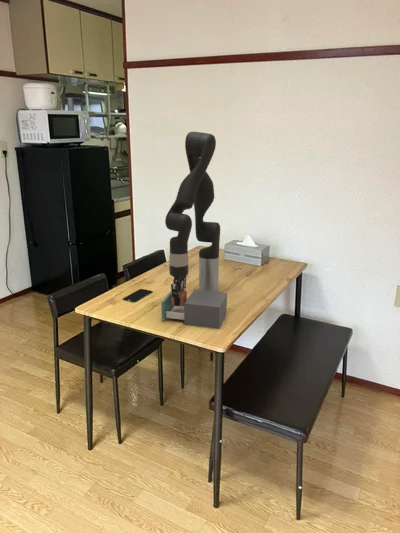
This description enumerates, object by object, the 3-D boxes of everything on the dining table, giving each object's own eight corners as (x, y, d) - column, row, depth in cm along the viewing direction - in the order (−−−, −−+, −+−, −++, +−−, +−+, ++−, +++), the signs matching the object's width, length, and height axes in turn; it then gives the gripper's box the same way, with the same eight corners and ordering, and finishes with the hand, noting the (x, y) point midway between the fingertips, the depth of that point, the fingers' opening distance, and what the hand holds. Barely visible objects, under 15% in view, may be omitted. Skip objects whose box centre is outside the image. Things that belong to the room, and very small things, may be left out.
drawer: (171, 304, 186) (171, 288, 184) (203, 307, 183) (204, 291, 181) (159, 318, 172) (158, 301, 170) (194, 323, 169) (194, 305, 166)
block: (175, 300, 179) (175, 289, 178) (186, 302, 178) (186, 290, 177) (171, 305, 175) (171, 293, 173) (183, 306, 173) (183, 295, 172)
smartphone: (120, 299, 194) (140, 288, 206) (121, 300, 194) (140, 289, 206) (134, 302, 190) (154, 291, 203) (134, 304, 190) (154, 292, 203)
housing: (194, 309, 184) (194, 289, 181) (226, 313, 181) (227, 293, 178) (184, 324, 170) (184, 303, 167) (219, 328, 167) (219, 307, 164)
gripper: (175, 257, 178) (175, 295, 184) (164, 267, 165) (164, 308, 170) (192, 258, 177) (192, 297, 182) (182, 269, 164) (183, 310, 169)
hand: (179, 302), depth 176 cm, fingers closed on block, 5 cm apart
